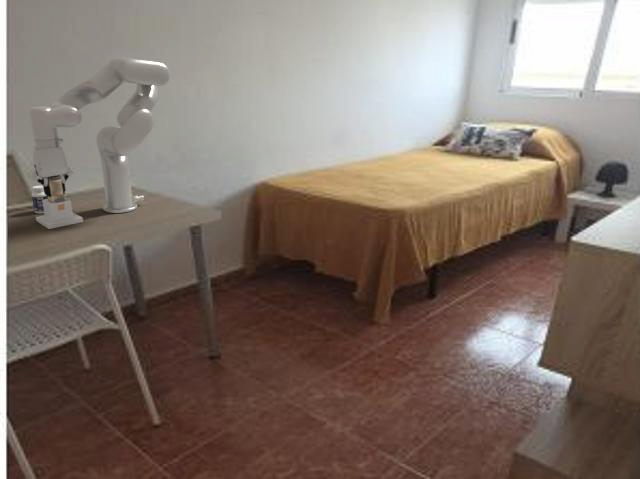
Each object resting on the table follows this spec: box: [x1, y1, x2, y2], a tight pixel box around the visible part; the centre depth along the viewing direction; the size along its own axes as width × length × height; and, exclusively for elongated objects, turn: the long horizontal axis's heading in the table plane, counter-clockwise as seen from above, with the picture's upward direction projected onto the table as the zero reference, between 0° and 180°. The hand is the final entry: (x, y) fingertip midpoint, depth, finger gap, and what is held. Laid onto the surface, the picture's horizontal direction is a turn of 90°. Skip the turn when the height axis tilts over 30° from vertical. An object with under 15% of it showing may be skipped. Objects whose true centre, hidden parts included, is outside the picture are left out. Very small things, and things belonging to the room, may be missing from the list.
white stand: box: [35, 196, 84, 230], centre depth 192 cm, size 12×12×9 cm
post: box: [48, 176, 65, 203], centre depth 190 cm, size 4×4×14 cm
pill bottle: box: [31, 185, 48, 214], centre depth 202 cm, size 5×5×10 cm
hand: (55, 194), depth 190 cm, fingers closed on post, 4 cm apart
